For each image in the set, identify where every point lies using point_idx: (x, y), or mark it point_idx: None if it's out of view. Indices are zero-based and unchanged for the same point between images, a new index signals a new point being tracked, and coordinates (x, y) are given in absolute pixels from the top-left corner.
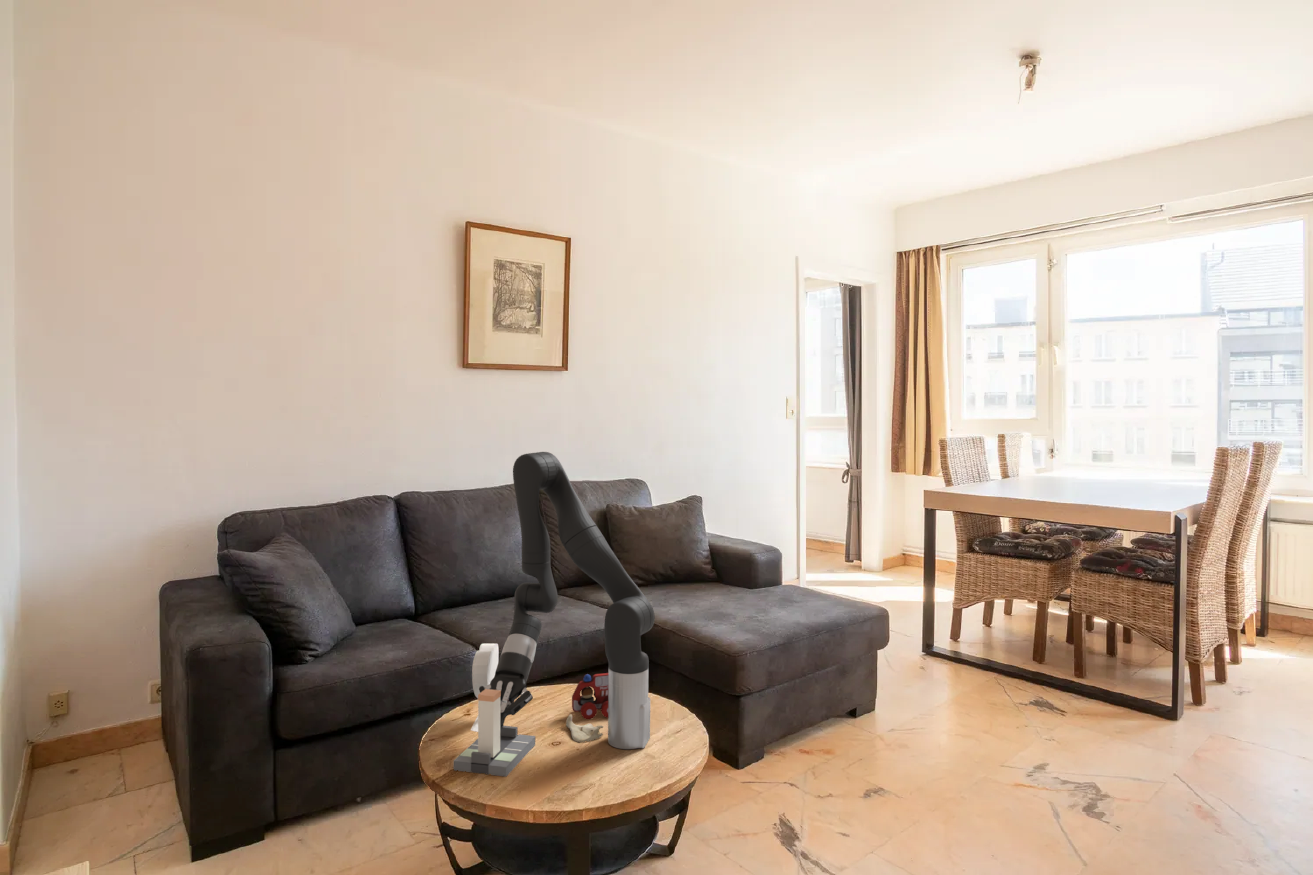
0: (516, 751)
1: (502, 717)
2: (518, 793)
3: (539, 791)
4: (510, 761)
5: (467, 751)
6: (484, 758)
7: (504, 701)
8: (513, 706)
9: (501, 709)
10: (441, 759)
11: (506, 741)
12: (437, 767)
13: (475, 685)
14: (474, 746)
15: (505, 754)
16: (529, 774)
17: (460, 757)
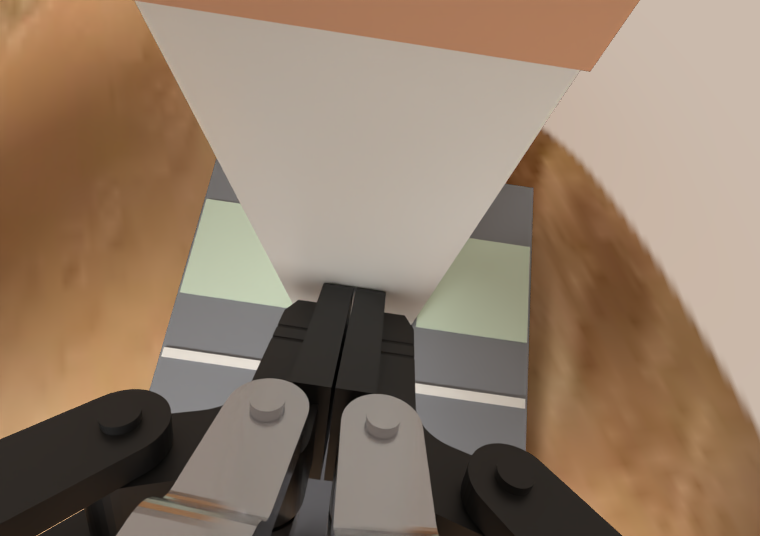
0: (194, 338)
1: (265, 367)
2: (152, 39)
3: (57, 57)
4: (208, 198)
5: (505, 299)
6: None
7: (211, 511)
8: (51, 436)
9: (272, 400)
10: (632, 317)
11: (301, 513)
12: (604, 230)
13: None
14: (493, 384)
15: (257, 283)
16: (117, 198)
17: (513, 227)
